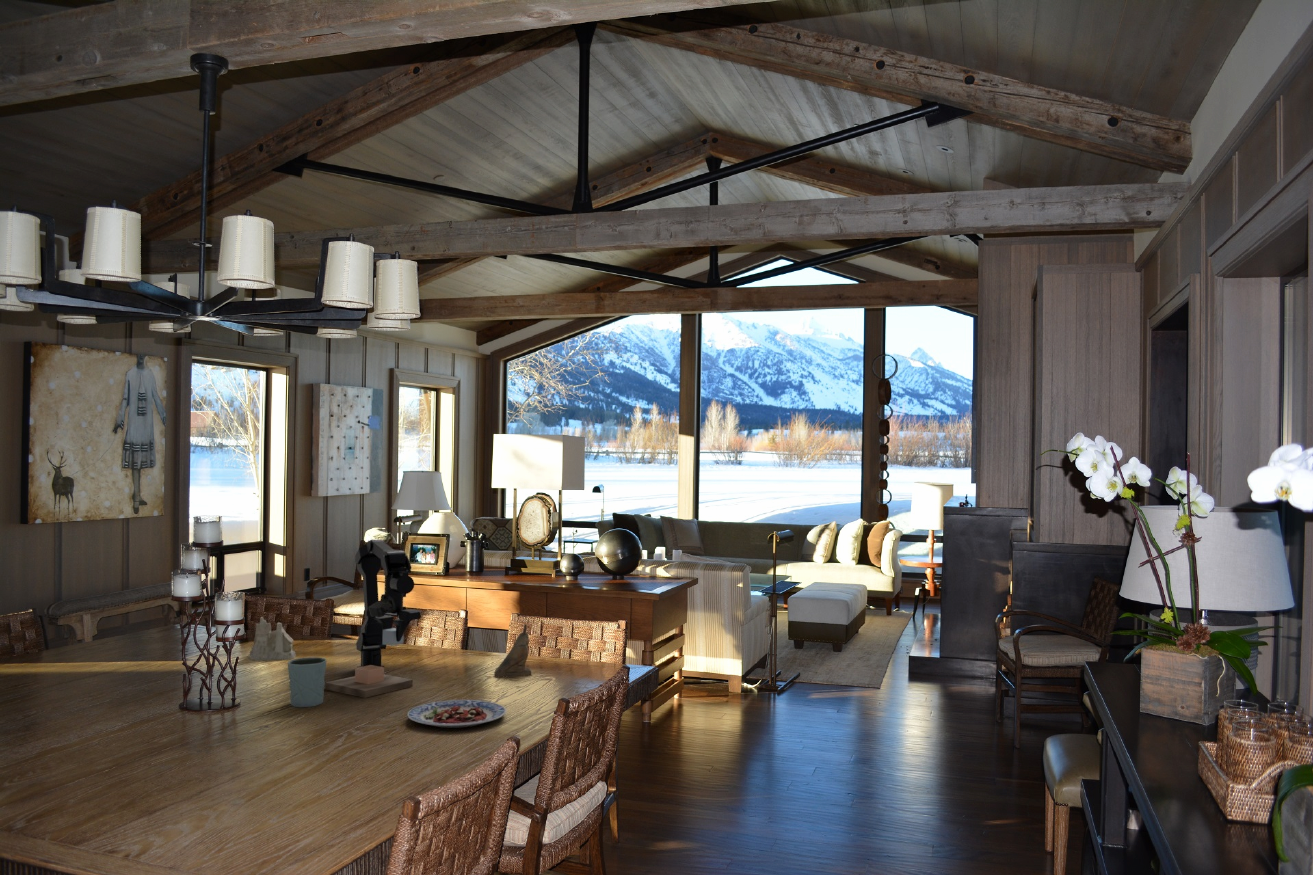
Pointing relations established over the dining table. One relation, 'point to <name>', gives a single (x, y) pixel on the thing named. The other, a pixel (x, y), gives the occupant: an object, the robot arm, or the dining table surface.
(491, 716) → the ceramic plate
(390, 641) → the grey blue cube
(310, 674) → the blue green cup
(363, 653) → the robot arm
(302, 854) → the dining table surface
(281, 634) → the beige sandcastle sculpture
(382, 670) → the terracotta block
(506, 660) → the worn brown figurine
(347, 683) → the walnut base
